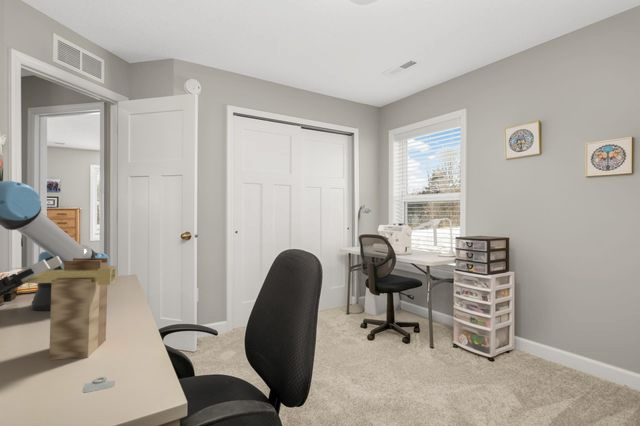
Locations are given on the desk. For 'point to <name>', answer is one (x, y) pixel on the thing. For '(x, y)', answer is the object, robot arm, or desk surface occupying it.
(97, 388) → the mounting bracket
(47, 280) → the golden wooden bar
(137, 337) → the desk surface
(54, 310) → the hinge block
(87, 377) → the desk surface
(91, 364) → the desk surface
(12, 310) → the desk surface
